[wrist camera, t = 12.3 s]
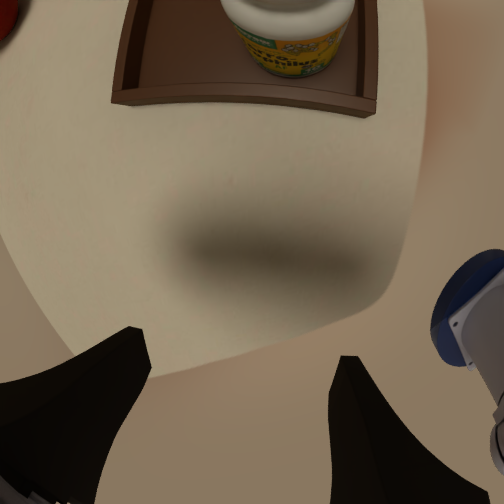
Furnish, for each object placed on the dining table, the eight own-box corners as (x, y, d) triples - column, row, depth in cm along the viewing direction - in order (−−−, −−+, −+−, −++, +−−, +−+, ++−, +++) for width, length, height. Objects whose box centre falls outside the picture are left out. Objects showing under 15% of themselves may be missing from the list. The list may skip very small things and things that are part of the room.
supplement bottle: (343, 21, 12) (377, -70, 3) (325, 90, 14) (359, 26, 5) (259, 3, 12) (224, -92, 3) (237, 69, 14) (174, -2, 5)
